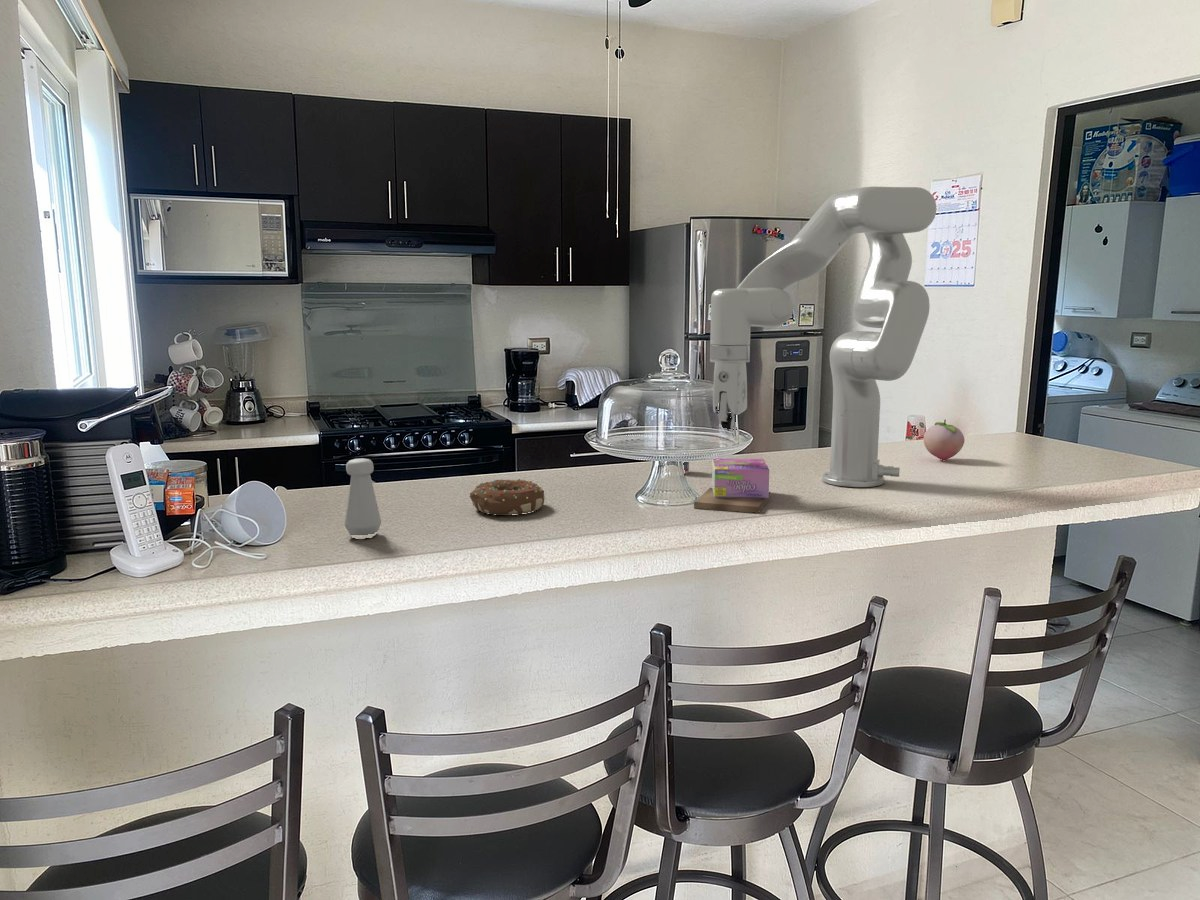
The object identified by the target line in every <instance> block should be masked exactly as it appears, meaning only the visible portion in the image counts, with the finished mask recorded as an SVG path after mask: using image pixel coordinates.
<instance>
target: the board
mask: <svg viewBox="0 0 1200 900" xmlns="http://www.w3.org/2000/svg"><path fill="white" fill-rule="evenodd" d="M770 499H771V491H769V498H714V494H713V488H712V487H709V488H708V489H707V490H706V491H705V492H703V494H701V495H700V496H699V497H698V498H696V500H695V501H693V509H697V508H703V509H702V510H710V509H715V510H714V511H723V510H726V511H725V512H735V511H739V513H748V512H755V513H754V514H759V513H760V512H761V510H762V509H763V508H764V507H763V506H766V504H767V503H768V502H769V500H770ZM759 511H760V512H759Z"/></svg>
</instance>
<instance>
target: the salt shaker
mask: <svg viewBox="0 0 1200 900" xmlns="http://www.w3.org/2000/svg"><path fill="white" fill-rule="evenodd" d="M373 462H374V461H372V460H371V459H370V458H363V457H361V458H353V459H350V460H348V461H347V462H346V465H345V470H346V474H347V475H349V476H350V483H349V490H348V496H347V501H346V502H347V504H346V509H345V518H344V527H345V528H346V530H347V533H349V535H350V536H351V535H368V534H374V533H375V532H377V531H378V532H379V530H380V528H381V525H382V519H381V515H380V511H379V506H378V501H377V497H376V493H375V488H374V485H373V480H372V477H371V474H372V473H373V472H374V470H375V469H374V463H373Z"/></svg>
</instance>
